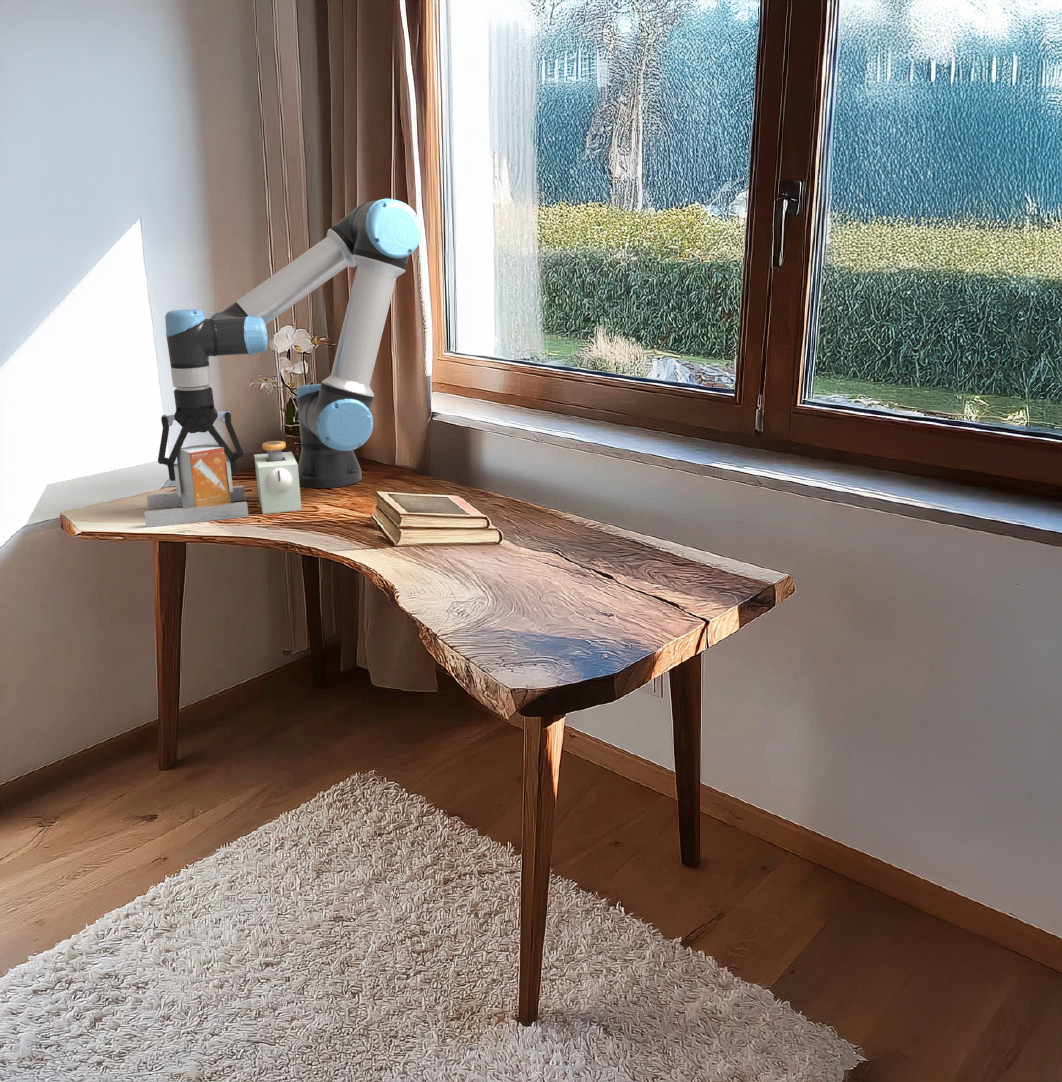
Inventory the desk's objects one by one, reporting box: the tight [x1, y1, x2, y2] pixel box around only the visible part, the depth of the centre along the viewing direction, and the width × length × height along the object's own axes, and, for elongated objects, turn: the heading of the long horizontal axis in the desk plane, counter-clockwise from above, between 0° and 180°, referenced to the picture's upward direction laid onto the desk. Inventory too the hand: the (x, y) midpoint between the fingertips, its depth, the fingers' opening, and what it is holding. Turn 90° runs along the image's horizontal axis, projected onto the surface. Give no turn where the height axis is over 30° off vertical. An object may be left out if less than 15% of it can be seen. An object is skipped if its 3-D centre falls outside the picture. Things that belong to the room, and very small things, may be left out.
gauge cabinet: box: [253, 451, 303, 515], centre depth 212 cm, size 8×14×10 cm, turn 19°
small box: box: [176, 442, 232, 508], centre depth 207 cm, size 8×6×13 cm
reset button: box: [261, 440, 287, 462], centre depth 210 cm, size 5×5×6 cm
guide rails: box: [143, 485, 249, 528], centre depth 208 cm, size 20×15×3 cm
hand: (205, 492), depth 208 cm, fingers closed on small box, 10 cm apart
